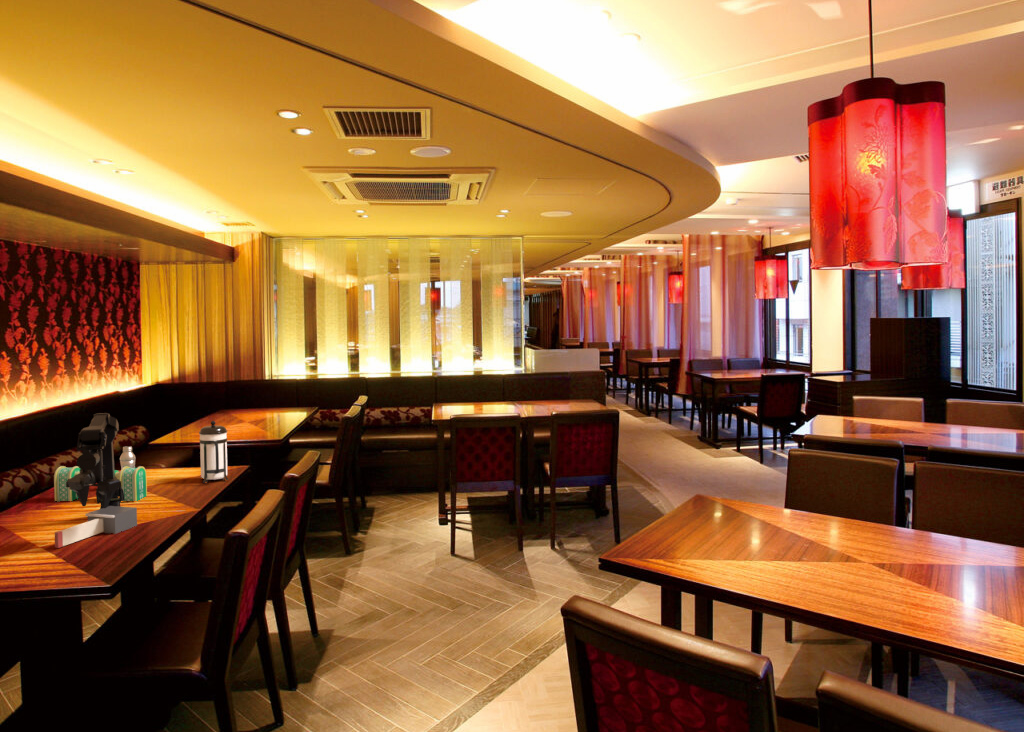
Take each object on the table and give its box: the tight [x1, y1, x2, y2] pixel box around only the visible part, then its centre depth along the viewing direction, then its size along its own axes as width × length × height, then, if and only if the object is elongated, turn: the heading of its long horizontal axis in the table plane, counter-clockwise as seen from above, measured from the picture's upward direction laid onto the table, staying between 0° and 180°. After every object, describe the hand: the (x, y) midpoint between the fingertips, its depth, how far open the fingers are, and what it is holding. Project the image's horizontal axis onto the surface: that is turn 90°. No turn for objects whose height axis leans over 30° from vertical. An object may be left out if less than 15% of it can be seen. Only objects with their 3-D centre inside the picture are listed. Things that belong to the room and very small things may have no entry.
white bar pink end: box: [54, 517, 104, 549], centre depth 224 cm, size 19×1×5 cm, turn 167°
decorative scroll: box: [53, 465, 148, 502], centre depth 279 cm, size 36×8×15 cm, turn 89°
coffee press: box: [198, 420, 229, 484], centre depth 314 cm, size 17×16×30 cm
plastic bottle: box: [119, 445, 136, 469], centre depth 298 cm, size 6×7×20 cm
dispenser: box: [84, 506, 138, 535], centre depth 237 cm, size 11×12×7 cm
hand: (94, 507), depth 225 cm, fingers open, 9 cm apart
